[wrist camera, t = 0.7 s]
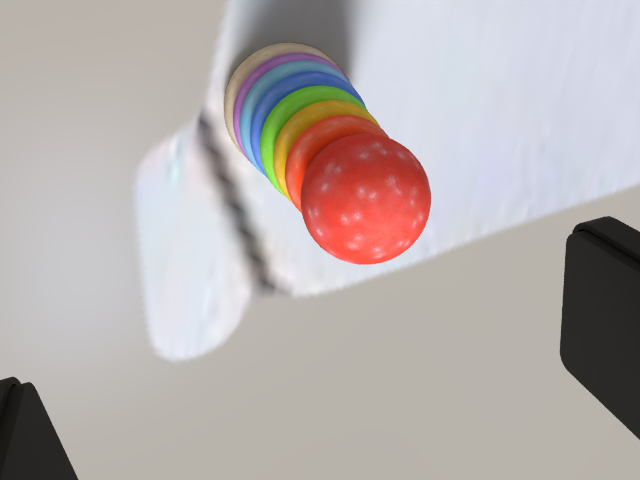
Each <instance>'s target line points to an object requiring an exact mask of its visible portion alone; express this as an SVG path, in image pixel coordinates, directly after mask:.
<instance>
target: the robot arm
mask: <svg viewBox="0 0 640 480" xmlns="http://www.w3.org/2000/svg"><path fill="white" fill-rule="evenodd" d="M560 356H561V360H562V362H563V364H564V366H565V368H566V369H567V370H568V371H569V372H570V373H571V374H572V375H573V376H574V377H575V378H576V379H577V380H578V381H579V382H580V383H581V384H582V385H583V386H584V387H585V388H586V389H587V390H588V391H589V392H590V393H592V394H593V395H594V396H595V397H596V398H597V399H598V400H599V401H600V402H601V403H602V404H603V405H604V406H605V407H606V408H607V409H608V410H609V411H610V412H611V413H612V414H613V415H615V416H616V417H617V418H618V419H619V420H620V421H621V422H622V423H623V424H624V425H625V426H626V427H627V428H628V429H629V430H630V431H631V432H632V433H633V434H634V435H635V436H636V437H637V438H638V439H640V232H639V231H637V230H635V229H633V228H632V227H630V226H628V225H626V224H624V223H622V222H621V221H619V220H617V219H615V218H612V217H610V216H608V217H602V218H599V219H595V220H591V221H587V222H583V223H580V224H578V225H576V226H575V228H574V230H573V233H572V234H571V235H569V237H568V238H567V242H566V256H565V273H564V289H563V307H562V324H561V340H560ZM0 480H78V478H77V476H76V474H75V472H74V469H73V467H72V465H71V463H70V461H69V459H68V457H67V455H66V452H65V450H64V448H63V446H62V444H61V442H60V440H59V437H58V435H57V433H56V431H55V429H54V427H53V425H52V423H51V421H50V418H49V416H48V414H47V412H46V410H45V407H44V406H43V403H42V401H41V399H40V397H39V395H38V393H37V390H36V389H35V387H34V385H33V384H32V383H30V382H28V383H24V384H21V383H20V381H19V380H18V379H17V378H15V377H10V378H6V379H2V380H0Z"/></svg>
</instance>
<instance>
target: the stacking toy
mask: <svg viewBox="0 0 640 480" xmlns="http://www.w3.org/2000/svg"><path fill="white" fill-rule="evenodd" d="M224 118H225V123H226V127H227V130H228V133H229V135H230V137H231V139H232V141H233V143H234V144H235V146H236V147H237V148H238V150H239V151H240V152H241V153H242V154H243V155H244V156H245V157H246V158H247V159H248V160H249V161H250V162H251V163H252V164H253V165H254V166H255V167H256V168H257V169H258V170H259V171H260V172H261V173H262V174H264V175H265V176H266V177H267V178H268V179H269V180H270V182H271V183H272V184H273V186H274V187H275V188H276V189H277V190H278V191H279V192H280V193H282V194H283V195H284V196H286V197H287V198H288V199H289V200H290V201H291V202H292V203H293V204H294V205H295V206H296V208H297V209H298V210H299V211H300V212H301V213H302V215H303V219H304V222H305V224H306V227H307V229H308V231H309V233H310V234H311V236H312V237H313V239H314V240H315V241H316V242H317V244H318V245H319V246H320V247H321V248H323V249H324V250H325V251H326V252H327V253H329V254H331V255H332V256H334V257H336V258H338V259H340V260H343V261H346V262H349V263H353V264H376V263H382V262H385V261H388V260H391V259H393V258H395V257H397V256H398V255H400V254H402V253H403V252H404V251H406V250H407V249H408V248H409V247H410V246H411V245H413V244H414V242H415V241H416V240H417V239H418V237H419V236H420V235H421V233H422V231H423V229H424V227H425V225H426V222H427V220H428V217H429V212H430V205H431V191H430V186H429V182H428V178H427V176H426V173H425V171H424V169H423V167H422V165H421V164H420V162H419V161H418V160H417V158H416V157H415V156H414V155H413V154H412V153H411V152H410V151H409V150H408V149H407V148H406V147H404V146H403V145H401V144H400V143H398V142H396V141H394V140H392V139H390V138H389V137H388V135H387V134H386V133H385V132H384V131H383V129H381V128H380V126H379V124H378V123H377V121H376V120H375V119H374V118H373V116H372V115H370V114H369V112H368V110H367V109H366V107H365V104H364V102H363V100H362V99H361V97H360V95H359V94H358V93H357V92H356V90H355V89H354V88H353V86H352V85H351V83H350V82H349V80H348V78H347V77H346V76H345V74H344V73H343V72H342V71H341V70H340V68H339V67H338V66H337V65H336V64H335V62H334V61H333V60H332V59H330V58H329V57H328V56H327V55H325V54H324V53H322V52H321V51H319V50H317V49H315V48H313V47H310V46H307V45H304V44H299V43H278V44H274V45H270V46H267V47H264V48H262V49H260V50H258V51H257V52H255V53H253V54H252V55H251V56H249V57H248V58H247V59H246V60H244V61H243V62H242V63H241V65H240V66H239V67H238V68H237V69H236V71H235V72H234V74H233V75H232V77H231V79H230V81H229V84H228V86H227V90H226V93H225V99H224Z"/></svg>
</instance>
